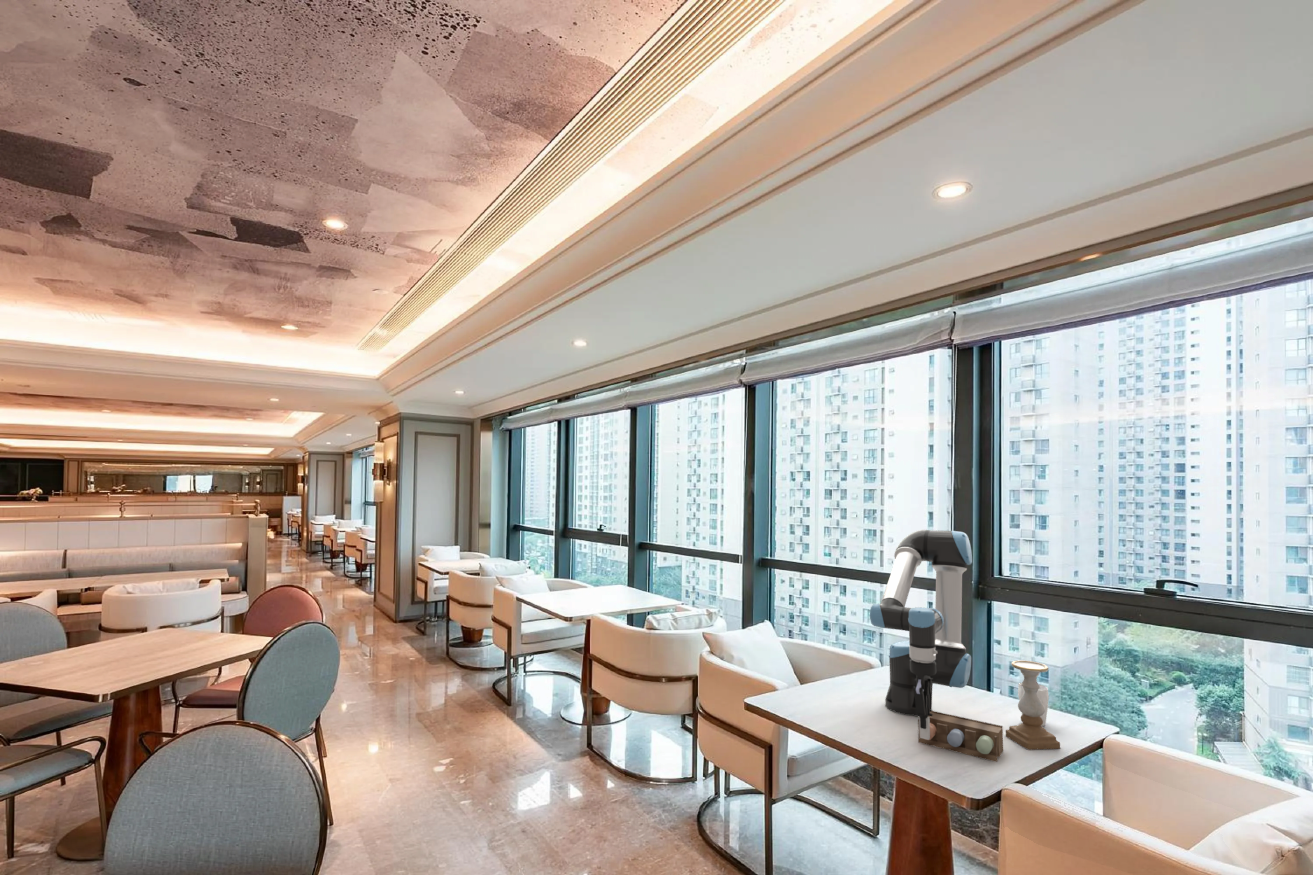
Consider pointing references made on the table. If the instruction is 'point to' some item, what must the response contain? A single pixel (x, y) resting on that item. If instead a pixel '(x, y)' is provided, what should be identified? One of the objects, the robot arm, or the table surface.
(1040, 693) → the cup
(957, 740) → the button slate
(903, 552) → the robot arm
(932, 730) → the button terracotta
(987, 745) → the button sage
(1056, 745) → the candle holder
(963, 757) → the table surface
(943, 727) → the console
